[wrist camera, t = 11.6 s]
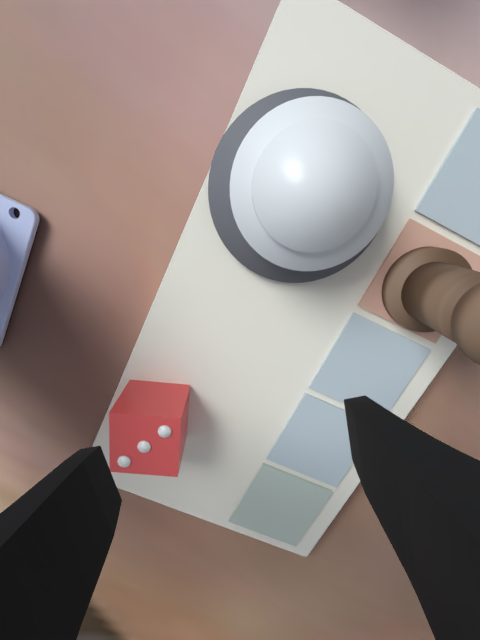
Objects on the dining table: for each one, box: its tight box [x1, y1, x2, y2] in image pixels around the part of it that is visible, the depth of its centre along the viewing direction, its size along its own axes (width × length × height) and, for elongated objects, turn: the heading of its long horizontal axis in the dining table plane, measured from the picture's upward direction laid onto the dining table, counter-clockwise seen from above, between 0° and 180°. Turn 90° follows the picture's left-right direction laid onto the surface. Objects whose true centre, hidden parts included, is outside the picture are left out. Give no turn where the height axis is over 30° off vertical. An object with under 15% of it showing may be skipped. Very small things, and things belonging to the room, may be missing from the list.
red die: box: [109, 380, 190, 477], centre depth 18 cm, size 3×3×3 cm
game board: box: [92, 0, 480, 557], centre depth 18 cm, size 15×26×2 cm, turn 154°
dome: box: [230, 96, 394, 271], centre depth 14 cm, size 6×6×3 cm
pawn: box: [382, 246, 480, 365], centre depth 14 cm, size 4×4×7 cm
